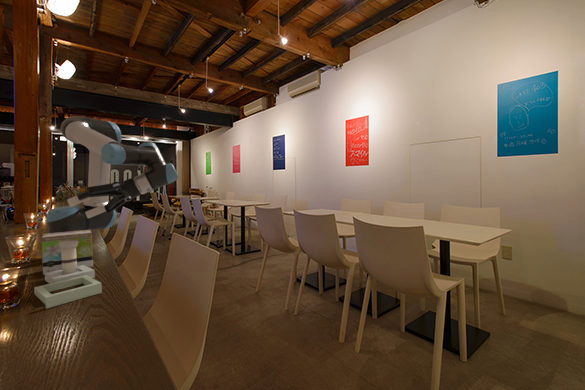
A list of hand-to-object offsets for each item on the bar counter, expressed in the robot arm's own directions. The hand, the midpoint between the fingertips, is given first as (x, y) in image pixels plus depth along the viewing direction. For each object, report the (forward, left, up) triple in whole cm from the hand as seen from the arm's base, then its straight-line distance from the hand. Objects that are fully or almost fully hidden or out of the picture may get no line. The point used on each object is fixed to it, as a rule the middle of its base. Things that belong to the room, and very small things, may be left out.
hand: (78, 209), depth 102 cm
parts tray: (+21, -9, -24) cm, 33 cm away
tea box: (-10, -1, -24) cm, 26 cm away
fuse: (+7, -5, -23) cm, 25 cm away
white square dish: (+7, -5, -24) cm, 26 cm away
